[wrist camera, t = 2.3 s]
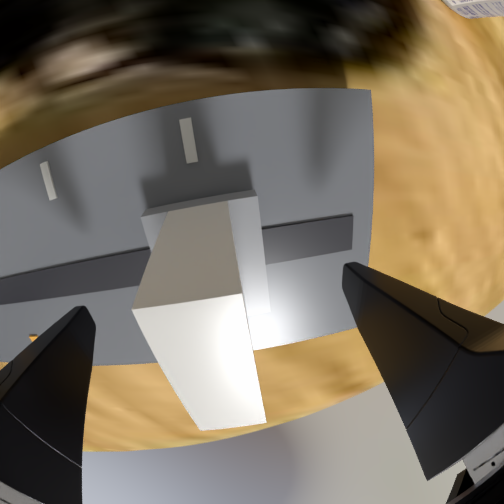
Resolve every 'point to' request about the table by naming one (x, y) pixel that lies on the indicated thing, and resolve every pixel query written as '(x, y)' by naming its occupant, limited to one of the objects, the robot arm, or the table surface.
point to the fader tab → (206, 304)
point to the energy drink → (476, 8)
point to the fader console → (184, 189)
